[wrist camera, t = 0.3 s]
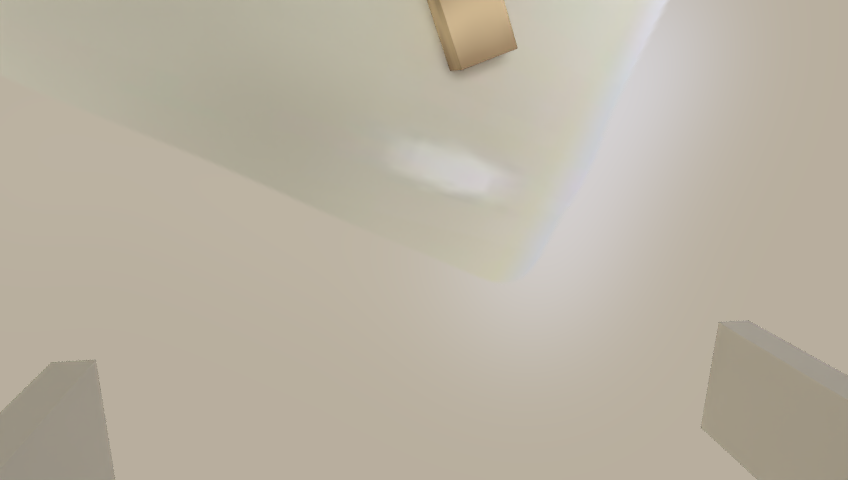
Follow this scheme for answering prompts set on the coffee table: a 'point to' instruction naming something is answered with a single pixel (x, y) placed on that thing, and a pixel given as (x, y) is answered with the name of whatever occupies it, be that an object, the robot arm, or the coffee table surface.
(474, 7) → the peg
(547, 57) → the coffee table surface
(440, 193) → the coffee table surface
